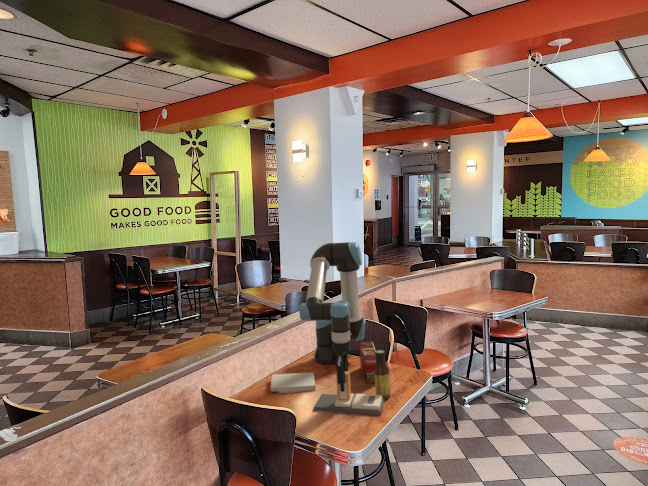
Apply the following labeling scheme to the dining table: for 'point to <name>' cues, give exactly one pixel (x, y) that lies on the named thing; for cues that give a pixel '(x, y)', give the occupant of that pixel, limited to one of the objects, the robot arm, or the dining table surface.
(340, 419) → the dining table surface
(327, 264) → the robot arm
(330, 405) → the mat
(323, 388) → the dining table surface
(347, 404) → the tan block with base
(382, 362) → the sauce bottle
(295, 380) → the grey flat slab
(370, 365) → the ice cream box
